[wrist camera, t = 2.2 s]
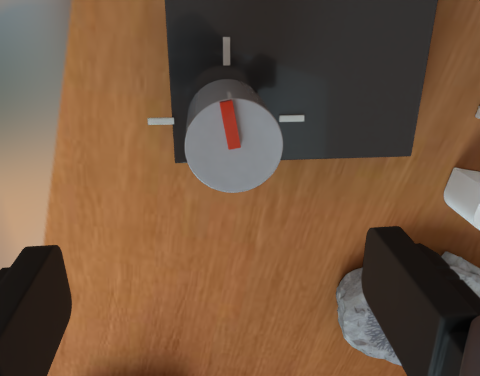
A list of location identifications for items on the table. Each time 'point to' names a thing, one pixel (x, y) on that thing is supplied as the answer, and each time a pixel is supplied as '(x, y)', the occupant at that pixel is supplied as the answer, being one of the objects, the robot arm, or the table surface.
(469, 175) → the slotted bracket
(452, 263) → the fossil
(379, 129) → the knob base
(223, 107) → the hob knob
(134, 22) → the table surface
